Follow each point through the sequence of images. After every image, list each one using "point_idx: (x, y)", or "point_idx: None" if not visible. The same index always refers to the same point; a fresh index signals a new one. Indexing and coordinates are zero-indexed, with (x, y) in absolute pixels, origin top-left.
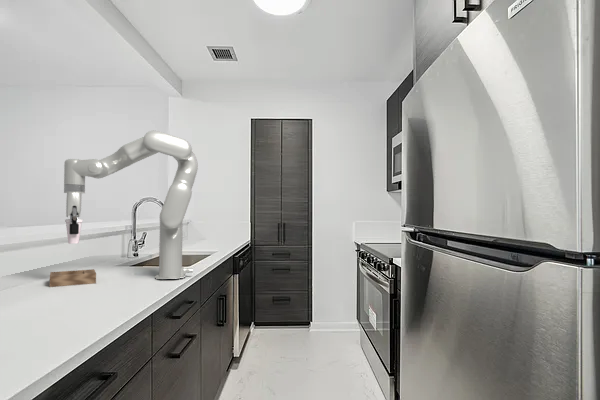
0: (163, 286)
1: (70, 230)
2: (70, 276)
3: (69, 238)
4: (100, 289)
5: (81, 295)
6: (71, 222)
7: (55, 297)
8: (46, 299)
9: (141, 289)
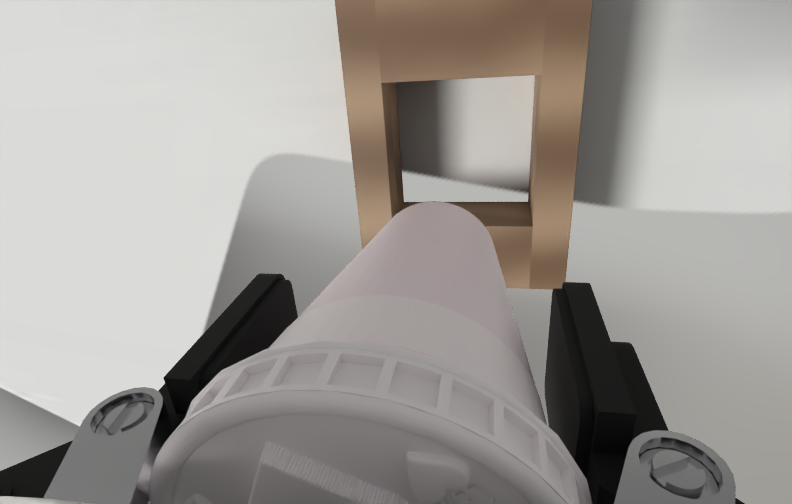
0: None
1: (235, 313)
2: (352, 139)
3: (371, 240)
4: (206, 259)
5: (87, 178)
6: (94, 433)
7: (54, 65)
8: (14, 25)
9: None
